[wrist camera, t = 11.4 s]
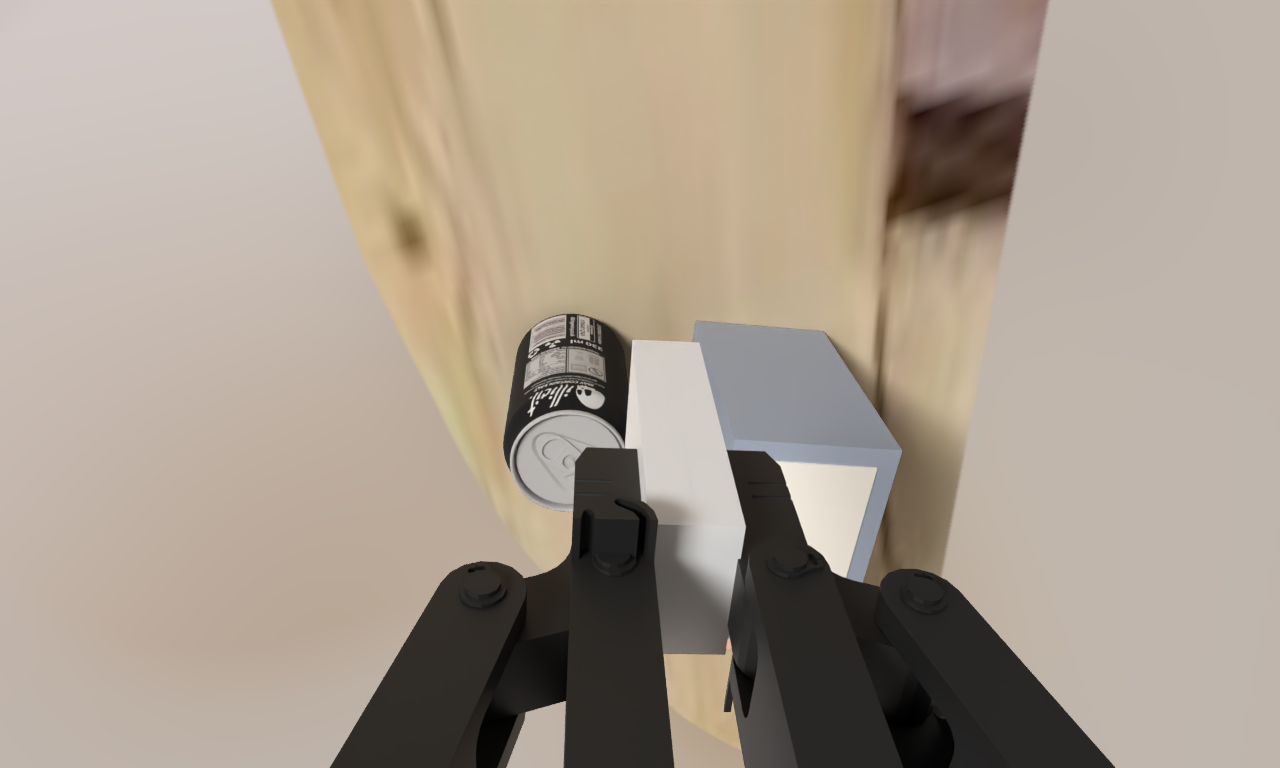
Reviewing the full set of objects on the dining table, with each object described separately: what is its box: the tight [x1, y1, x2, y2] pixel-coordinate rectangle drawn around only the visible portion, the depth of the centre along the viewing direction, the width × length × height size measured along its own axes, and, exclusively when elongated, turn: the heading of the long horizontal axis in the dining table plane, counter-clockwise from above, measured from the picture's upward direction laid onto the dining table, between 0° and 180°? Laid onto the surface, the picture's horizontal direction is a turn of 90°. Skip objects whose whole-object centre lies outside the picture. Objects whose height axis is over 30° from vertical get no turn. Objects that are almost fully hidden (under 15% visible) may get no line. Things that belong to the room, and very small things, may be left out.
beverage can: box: [503, 314, 629, 512], centre depth 46 cm, size 7×7×12 cm
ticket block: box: [693, 321, 902, 639], centre depth 47 cm, size 12×8×14 cm, turn 173°
